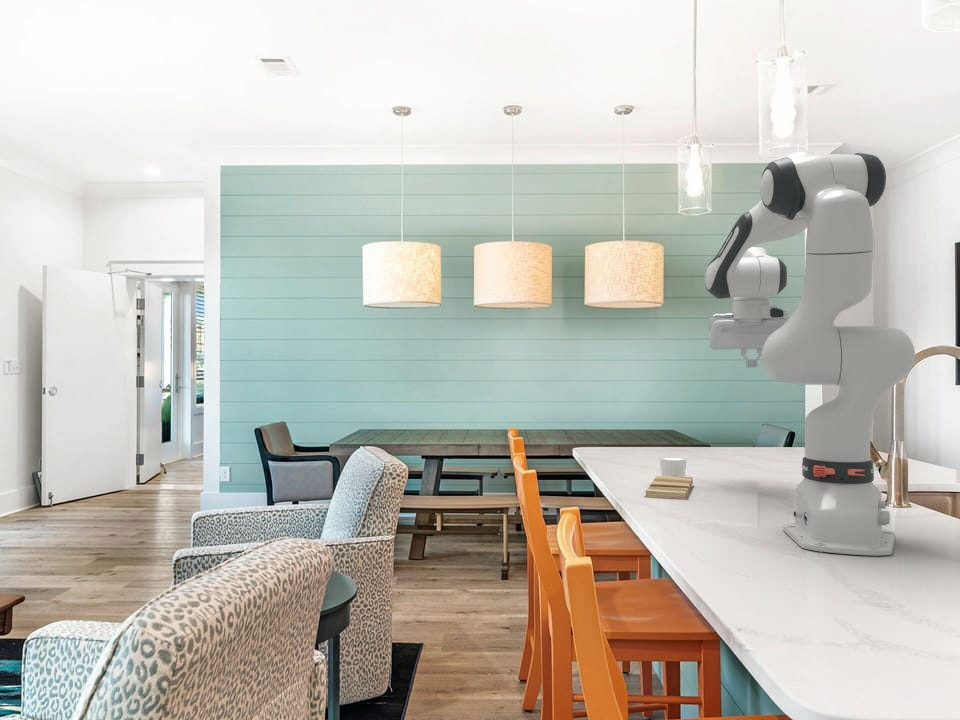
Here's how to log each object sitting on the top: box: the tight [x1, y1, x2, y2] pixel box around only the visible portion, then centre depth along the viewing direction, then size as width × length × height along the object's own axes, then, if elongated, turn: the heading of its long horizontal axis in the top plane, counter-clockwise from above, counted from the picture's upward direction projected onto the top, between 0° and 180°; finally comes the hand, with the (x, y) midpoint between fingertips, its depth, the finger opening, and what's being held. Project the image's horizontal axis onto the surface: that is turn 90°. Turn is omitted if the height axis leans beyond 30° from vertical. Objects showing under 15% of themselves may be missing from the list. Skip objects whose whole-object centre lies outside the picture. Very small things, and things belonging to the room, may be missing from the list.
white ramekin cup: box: [659, 456, 687, 477], centre depth 193 cm, size 7×7×7 cm
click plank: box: [649, 475, 694, 494], centre depth 181 cm, size 12×9×2 cm
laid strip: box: [645, 484, 688, 501], centre depth 172 cm, size 7×9×2 cm
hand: (751, 367), depth 183 cm, fingers closed
